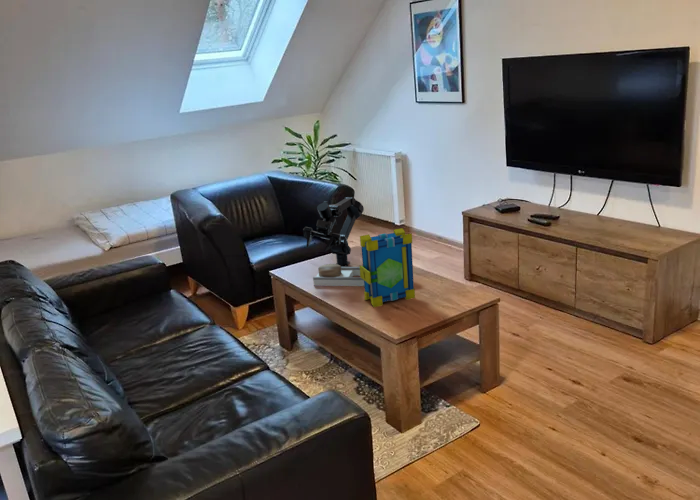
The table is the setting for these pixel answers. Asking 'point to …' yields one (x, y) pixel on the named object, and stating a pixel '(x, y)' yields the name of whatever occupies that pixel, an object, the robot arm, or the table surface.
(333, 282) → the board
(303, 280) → the table surface
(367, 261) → the decorative book
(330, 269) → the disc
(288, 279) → the table surface
